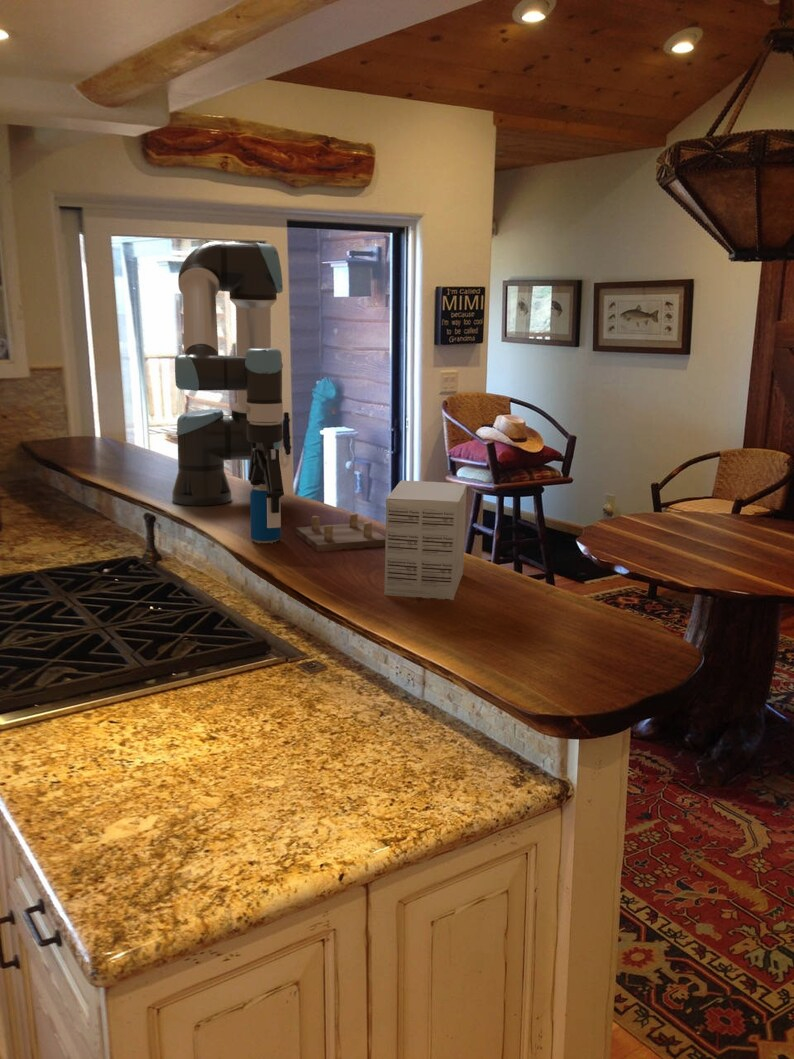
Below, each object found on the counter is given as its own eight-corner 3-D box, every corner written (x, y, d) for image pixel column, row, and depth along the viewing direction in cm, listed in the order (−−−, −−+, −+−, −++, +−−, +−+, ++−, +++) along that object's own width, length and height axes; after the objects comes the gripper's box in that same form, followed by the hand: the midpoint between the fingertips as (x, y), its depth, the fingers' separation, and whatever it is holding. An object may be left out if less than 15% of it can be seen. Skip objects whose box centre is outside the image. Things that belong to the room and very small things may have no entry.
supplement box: (397, 569, 180) (399, 479, 175) (464, 574, 178) (468, 483, 173) (381, 595, 163) (383, 497, 159) (455, 601, 161) (459, 501, 157)
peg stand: (296, 534, 205) (295, 514, 204) (362, 529, 211) (362, 510, 210) (317, 551, 191) (317, 530, 190) (388, 545, 197) (388, 525, 196)
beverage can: (283, 538, 201) (283, 484, 199) (277, 545, 195) (276, 490, 192) (255, 536, 202) (254, 483, 199) (247, 544, 196) (246, 489, 193)
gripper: (233, 416, 202) (235, 510, 207) (262, 430, 180) (263, 534, 185) (266, 416, 205) (267, 508, 210) (298, 429, 183) (299, 532, 188)
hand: (265, 520), depth 197 cm, fingers open, 13 cm apart
